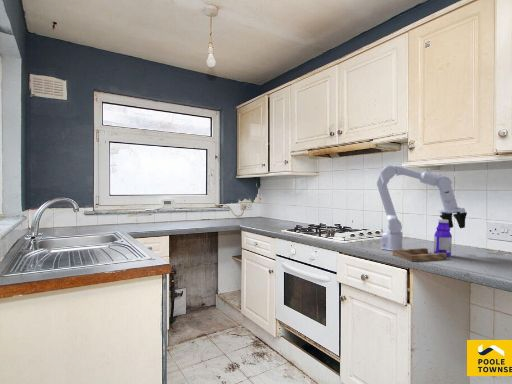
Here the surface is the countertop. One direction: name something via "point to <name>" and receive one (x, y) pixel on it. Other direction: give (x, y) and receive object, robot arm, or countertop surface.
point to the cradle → (418, 254)
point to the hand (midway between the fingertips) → (456, 227)
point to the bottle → (443, 238)
